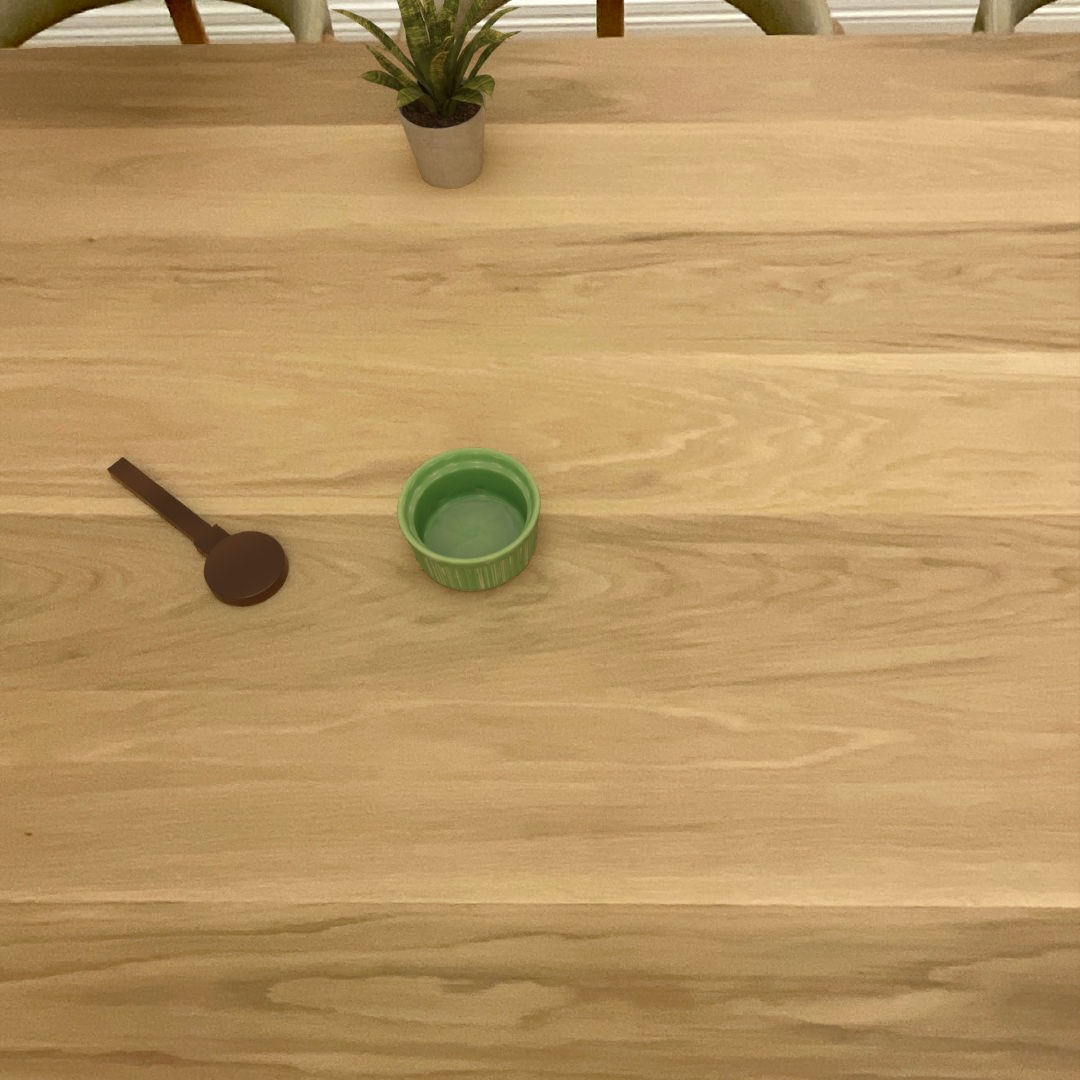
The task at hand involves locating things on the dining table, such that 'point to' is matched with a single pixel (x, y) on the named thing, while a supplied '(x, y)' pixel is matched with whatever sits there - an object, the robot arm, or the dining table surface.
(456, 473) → the ramekin
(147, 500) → the spoon
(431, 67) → the house plant
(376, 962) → the dining table surface
